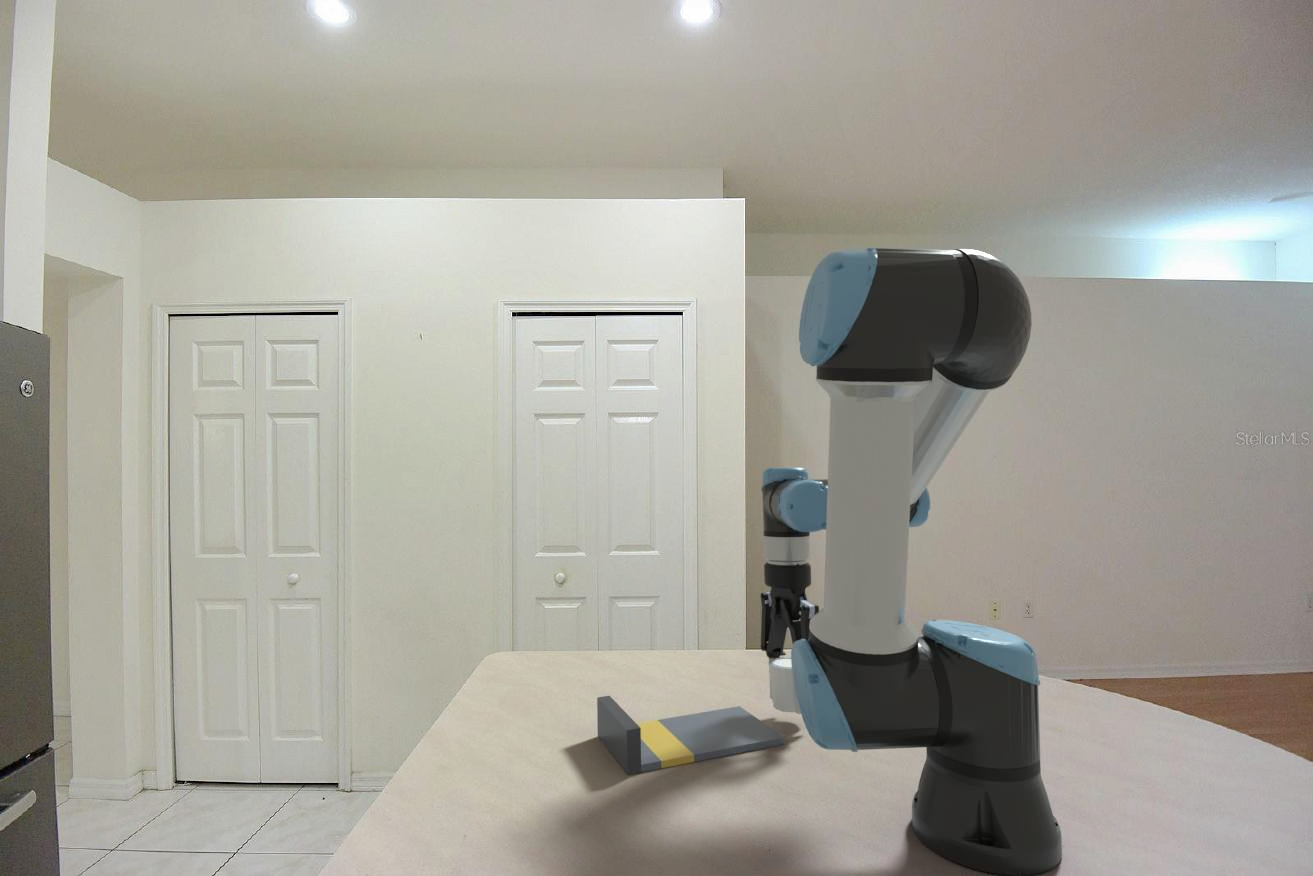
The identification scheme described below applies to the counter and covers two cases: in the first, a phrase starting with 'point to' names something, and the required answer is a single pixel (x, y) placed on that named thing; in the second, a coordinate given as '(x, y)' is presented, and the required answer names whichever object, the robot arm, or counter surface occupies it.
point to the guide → (679, 736)
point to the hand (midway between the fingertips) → (790, 704)
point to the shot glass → (782, 684)
